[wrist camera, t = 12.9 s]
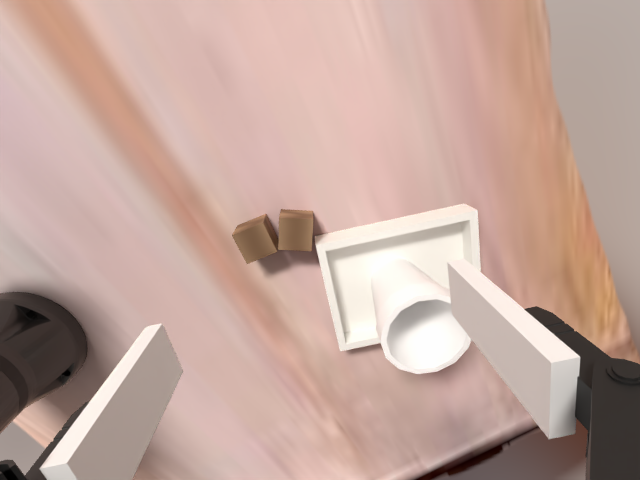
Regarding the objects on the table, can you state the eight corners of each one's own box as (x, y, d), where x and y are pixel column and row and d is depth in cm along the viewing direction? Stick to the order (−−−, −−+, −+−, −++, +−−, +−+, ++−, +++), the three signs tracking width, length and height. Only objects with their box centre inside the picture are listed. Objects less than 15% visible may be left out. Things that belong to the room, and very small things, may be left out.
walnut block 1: (251, 251, 45) (247, 263, 41) (237, 225, 44) (232, 235, 40) (279, 240, 44) (277, 252, 41) (266, 213, 43) (262, 222, 39)
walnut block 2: (280, 238, 44) (278, 249, 41) (281, 209, 43) (279, 217, 39) (310, 240, 45) (311, 251, 41) (312, 210, 43) (313, 219, 40)
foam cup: (433, 296, 47) (480, 358, 35) (370, 317, 48) (394, 384, 36) (418, 236, 44) (463, 280, 32) (351, 258, 45) (370, 311, 32)
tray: (337, 336, 50) (340, 351, 46) (314, 236, 44) (315, 245, 41) (471, 307, 49) (483, 321, 46) (464, 203, 44) (477, 210, 41)
